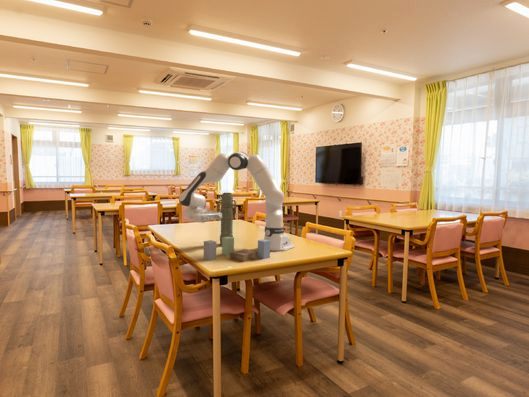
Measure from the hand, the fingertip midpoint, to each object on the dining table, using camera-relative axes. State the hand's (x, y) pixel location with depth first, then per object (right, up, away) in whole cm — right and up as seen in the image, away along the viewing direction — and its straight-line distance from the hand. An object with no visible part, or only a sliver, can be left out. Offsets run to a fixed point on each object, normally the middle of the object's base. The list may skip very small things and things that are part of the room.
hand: (215, 218), depth 213 cm
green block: (+8, -21, -7) cm, 24 cm away
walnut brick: (+19, -23, -16) cm, 33 cm away
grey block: (0, -22, -19) cm, 29 cm away
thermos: (+5, -19, +20) cm, 28 cm away
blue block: (+30, -22, -13) cm, 39 cm away
